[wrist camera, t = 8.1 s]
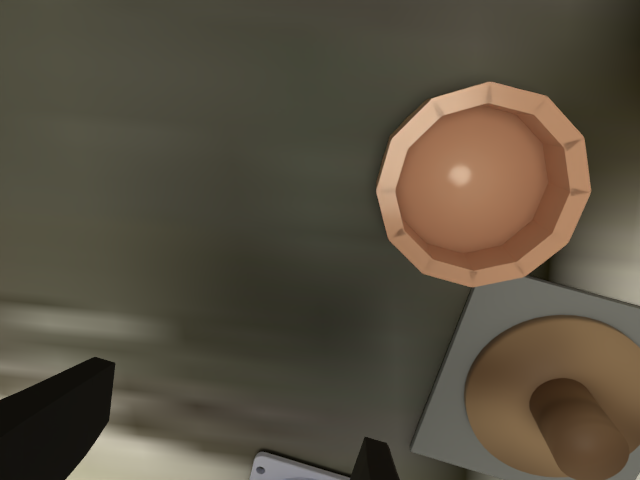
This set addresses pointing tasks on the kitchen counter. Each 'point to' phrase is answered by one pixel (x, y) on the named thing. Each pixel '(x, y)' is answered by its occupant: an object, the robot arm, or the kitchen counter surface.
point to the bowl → (483, 184)
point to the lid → (557, 397)
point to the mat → (473, 335)
